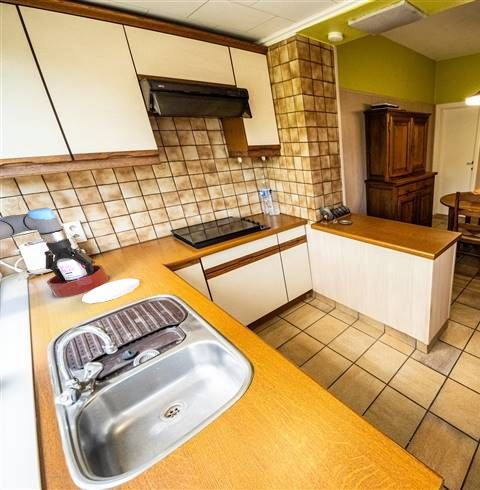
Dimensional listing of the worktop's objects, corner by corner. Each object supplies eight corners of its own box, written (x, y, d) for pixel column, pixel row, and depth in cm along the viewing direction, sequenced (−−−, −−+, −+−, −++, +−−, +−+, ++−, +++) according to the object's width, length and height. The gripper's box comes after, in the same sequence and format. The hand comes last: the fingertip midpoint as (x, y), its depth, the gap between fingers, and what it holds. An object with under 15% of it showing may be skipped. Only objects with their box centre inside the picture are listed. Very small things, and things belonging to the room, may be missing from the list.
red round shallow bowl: (42, 299, 126) (34, 286, 123) (77, 278, 144) (71, 267, 141) (87, 294, 128) (80, 282, 125) (117, 274, 146) (111, 263, 143)
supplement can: (91, 279, 141) (77, 254, 135) (94, 284, 136) (79, 258, 130) (70, 286, 136) (54, 260, 130) (71, 291, 131) (55, 264, 125)
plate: (149, 279, 139) (148, 276, 139) (122, 302, 120) (120, 299, 120) (105, 284, 137) (104, 281, 136) (70, 308, 118) (68, 305, 117)
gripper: (91, 235, 131) (110, 272, 139) (35, 239, 128) (58, 277, 137) (78, 240, 124) (99, 279, 132) (18, 246, 121) (43, 285, 130)
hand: (78, 278), depth 134 cm, fingers open, 13 cm apart
